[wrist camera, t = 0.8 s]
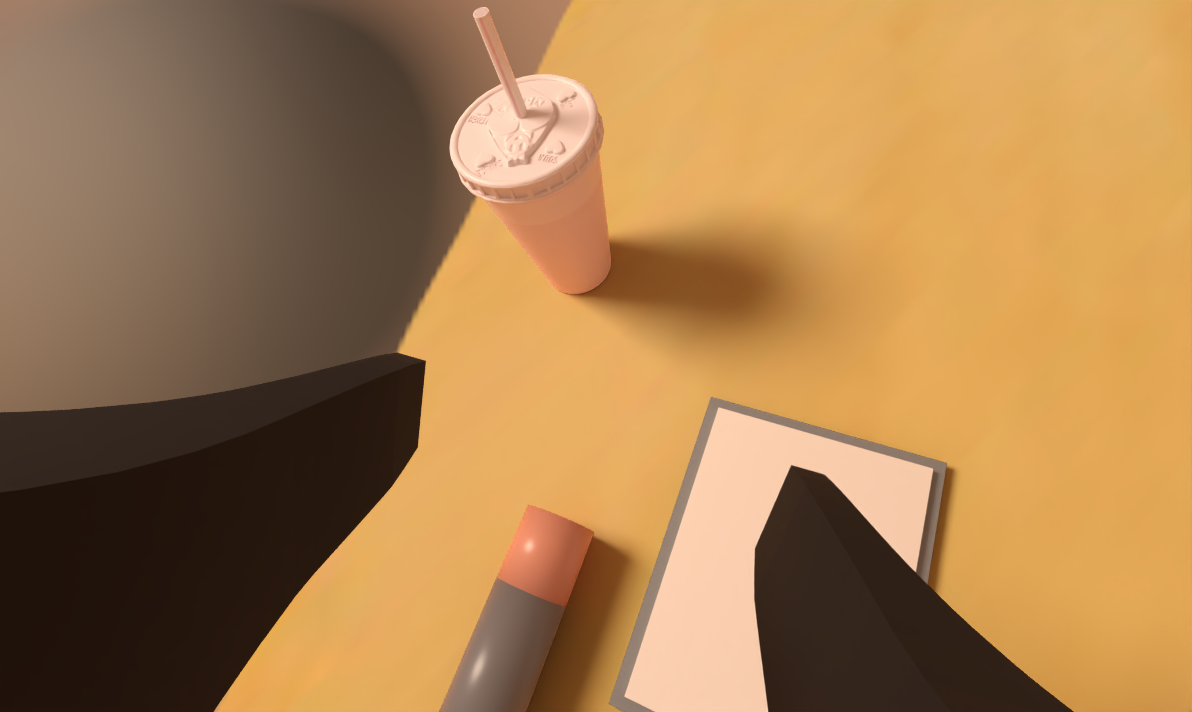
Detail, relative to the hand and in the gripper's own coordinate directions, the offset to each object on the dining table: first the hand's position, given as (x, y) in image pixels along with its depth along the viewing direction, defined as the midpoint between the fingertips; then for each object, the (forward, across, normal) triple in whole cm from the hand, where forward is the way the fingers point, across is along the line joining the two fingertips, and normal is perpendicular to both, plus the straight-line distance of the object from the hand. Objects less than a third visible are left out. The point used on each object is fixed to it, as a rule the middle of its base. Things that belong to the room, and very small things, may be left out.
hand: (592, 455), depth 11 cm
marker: (+7, +1, +14) cm, 16 cm away
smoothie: (+21, +4, +2) cm, 21 cm away
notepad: (+9, -8, +9) cm, 15 cm away
